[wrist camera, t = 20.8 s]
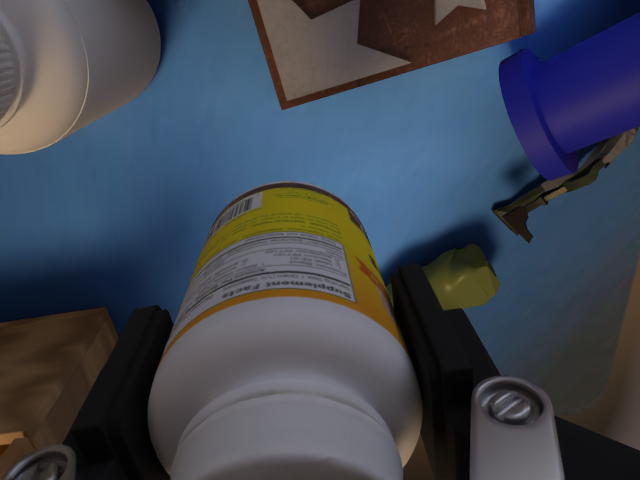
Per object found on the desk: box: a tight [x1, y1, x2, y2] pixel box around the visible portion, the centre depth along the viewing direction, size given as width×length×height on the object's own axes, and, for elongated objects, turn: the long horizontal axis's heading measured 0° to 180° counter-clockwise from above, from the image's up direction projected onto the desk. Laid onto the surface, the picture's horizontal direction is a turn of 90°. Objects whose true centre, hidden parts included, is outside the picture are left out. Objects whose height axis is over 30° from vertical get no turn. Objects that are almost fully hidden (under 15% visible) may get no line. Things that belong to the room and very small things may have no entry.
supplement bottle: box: [147, 181, 423, 480], centre depth 12 cm, size 6×6×10 cm
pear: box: [386, 244, 500, 310], centre depth 34 cm, size 6×5×10 cm
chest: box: [0, 307, 119, 457], centre depth 33 cm, size 15×11×12 cm
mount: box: [499, 12, 640, 181], centre depth 25 cm, size 15×8×9 cm
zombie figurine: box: [492, 127, 638, 243], centre depth 30 cm, size 5×7×15 cm
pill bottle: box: [0, 0, 161, 154], centre depth 21 cm, size 8×8×15 cm
